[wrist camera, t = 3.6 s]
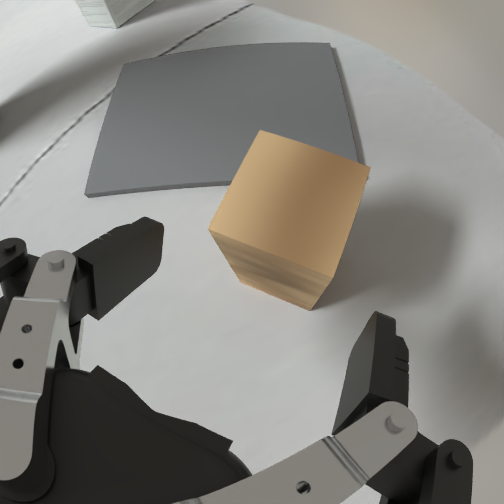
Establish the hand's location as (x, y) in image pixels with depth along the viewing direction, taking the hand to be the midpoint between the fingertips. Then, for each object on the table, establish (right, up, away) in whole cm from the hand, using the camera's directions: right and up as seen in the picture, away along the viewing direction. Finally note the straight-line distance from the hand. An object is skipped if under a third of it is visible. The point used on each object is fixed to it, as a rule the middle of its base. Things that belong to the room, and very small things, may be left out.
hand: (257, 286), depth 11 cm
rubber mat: (-3, +13, +13) cm, 18 cm away
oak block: (+2, +1, +9) cm, 9 cm away
